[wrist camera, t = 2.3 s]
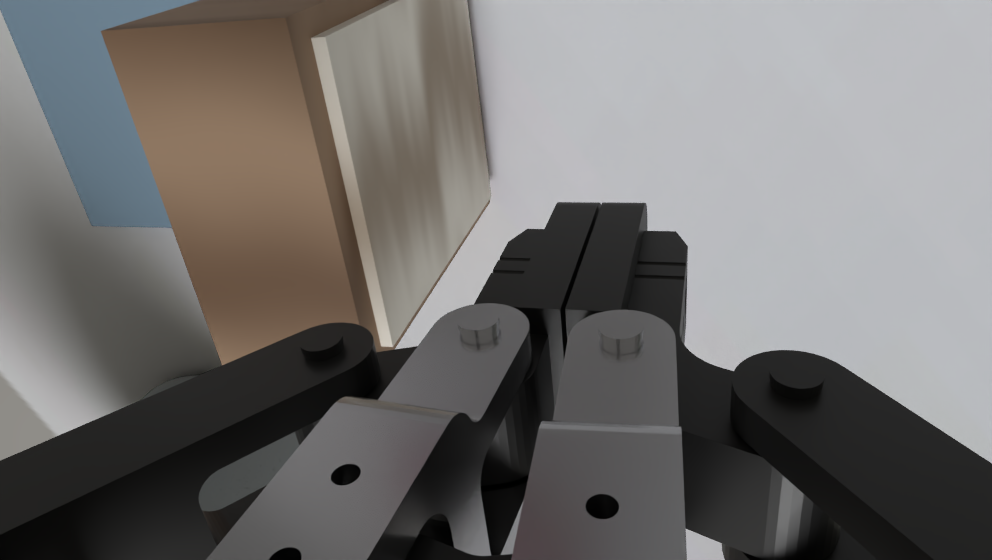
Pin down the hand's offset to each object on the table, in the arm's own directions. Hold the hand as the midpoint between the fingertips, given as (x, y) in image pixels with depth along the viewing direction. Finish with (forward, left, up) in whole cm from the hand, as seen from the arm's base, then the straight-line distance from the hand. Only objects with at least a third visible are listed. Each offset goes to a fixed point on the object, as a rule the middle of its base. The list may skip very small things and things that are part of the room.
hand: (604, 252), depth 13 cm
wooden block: (0, -8, -11) cm, 13 cm away
